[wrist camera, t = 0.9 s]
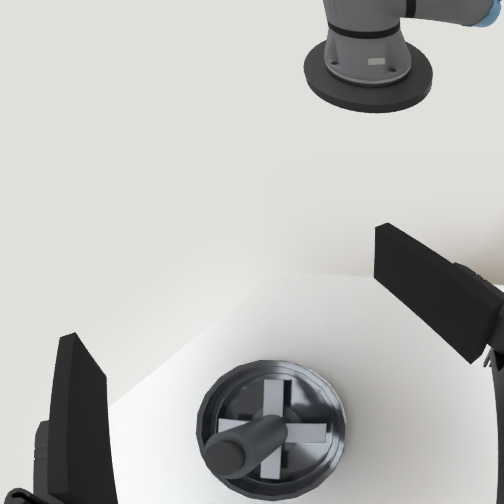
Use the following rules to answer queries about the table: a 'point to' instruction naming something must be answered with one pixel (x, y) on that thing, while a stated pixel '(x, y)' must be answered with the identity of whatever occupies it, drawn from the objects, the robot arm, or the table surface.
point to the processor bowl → (295, 396)
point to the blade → (260, 438)
